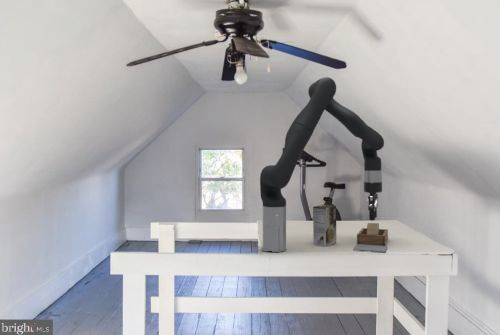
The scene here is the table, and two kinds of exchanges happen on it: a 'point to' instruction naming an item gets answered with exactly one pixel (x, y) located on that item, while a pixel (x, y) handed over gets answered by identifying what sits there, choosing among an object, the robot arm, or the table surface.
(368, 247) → the slate mat
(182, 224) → the table surface
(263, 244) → the robot arm
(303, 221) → the table surface
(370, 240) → the walnut surround
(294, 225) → the table surface
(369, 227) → the oak block
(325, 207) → the coffee box
